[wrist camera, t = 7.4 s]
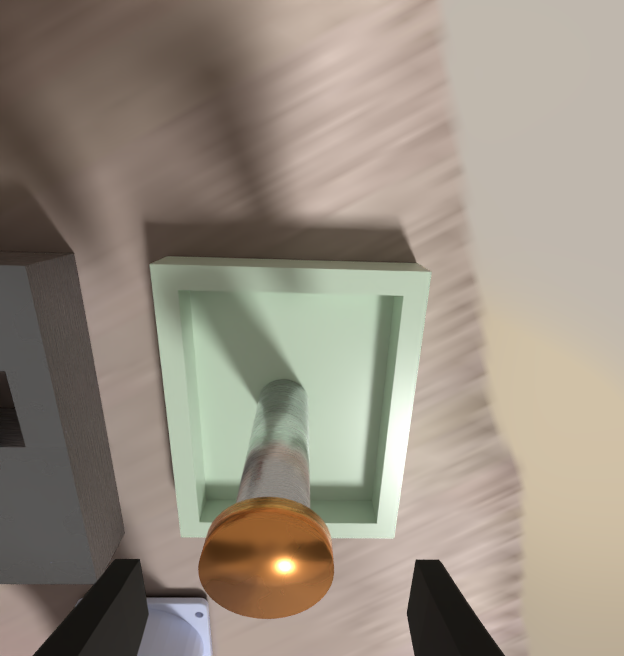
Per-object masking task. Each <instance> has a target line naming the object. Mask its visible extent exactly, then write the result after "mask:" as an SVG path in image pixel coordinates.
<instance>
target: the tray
mask: <svg viewBox="0 0 624 656" xmlns="http://www.w3.org/2000/svg"><path fill="white" fill-rule="evenodd" d="M150 273H151V282H152V290H153V299H154V308H155V316H156V325H157V334H158V342H159V351H160V360H161V368H162V377H163V386H164V394H165V403H166V412H167V420H168V429H169V438H170V446H171V455H172V464H173V472H174V481H175V490H176V498H177V507H178V516H179V524H180V533H181V537H206V536H207V533H208V530H209V527H210V526H211V524H212V522H213V521H214V520H215V518H216V517H217V516H218V515H219V514H220V513H221V512H222V511H224V510H225V509H227V508H228V507H230V506H232V505H234V504H236V500H237V495H238V491H239V486H240V482H241V477H242V473H243V468H244V464H245V459H246V455H247V450H248V446H249V441H250V437H251V432H252V428H253V423H254V418H255V414H256V409H257V405H258V400H259V396H260V393H261V391H262V389H263V388H264V387H265V386H266V385H267V384H268V383H270V382H272V381H274V380H278V379H288V380H292V381H295V382H297V383H298V384H300V385H301V386H302V387H303V388H304V390H305V391H306V393H307V396H308V420H309V470H310V509H311V510H313V511H314V512H315V513H316V514H318V515H319V516H320V517H321V519H322V520H323V521H324V522H325V524H326V525H327V527H328V529H329V532H330V535H331V538H394V536H395V529H396V522H397V515H398V508H399V501H400V494H401V486H402V479H403V472H404V465H405V458H406V451H407V444H408V437H409V430H410V422H411V415H412V408H413V401H414V394H415V387H416V380H417V373H418V366H419V358H420V351H421V344H422V337H423V330H424V323H425V316H426V309H427V302H428V294H429V287H430V280H431V273H432V272H431V271H429V270H428V269H426V268H424V267H423V266H421V265H419V264H418V263H394V262H358V261H323V260H287V259H252V258H216V257H181V256H167V257H164V258H162V259H160V260H158V261H155V262H153V263H151V264H150Z"/></svg>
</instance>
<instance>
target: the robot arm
mask: <svg viewBox="0 0 624 656" xmlns="http://www.w3.org/2000/svg"><path fill="white" fill-rule="evenodd" d="M407 617H408V623H409V628H410V634H411V639H412V644H413V650H414V655H415V656H505V655H504V654H503V652H502V651H501V649H500V648H499V647H498V645H497V644H496V643H495V641H494V640H493V638H492V637H491V636H490V634H489V633H488V631H487V630H486V629H485V627H484V626H483V624H482V623H481V621H480V620H479V619H478V617H477V616H476V614H475V613H474V611H473V610H472V608H471V607H470V605H469V604H468V602H467V601H466V599H465V598H464V596H463V595H462V593H461V592H460V590H459V589H458V587H457V586H456V584H455V583H454V581H453V580H452V578H451V576H450V575H449V573H448V572H447V570H446V569H445V567H444V565H443V564H442V563H441V562H440V561H439V560H416V562H415V568H414V573H413V579H412V585H411V591H410V597H409V603H408V609H407ZM33 656H213V652H212V640H211V629H210V618H209V607H208V602H207V600H206V599H204V598H146V593H145V587H144V581H143V575H142V569H141V563H140V559H116V560H115V561H113V562H112V563H111V565H110V566H109V567H108V568H107V569H106V571H105V572H104V573H103V574H102V575H101V577H100V578H99V579H98V580H97V581H96V583H95V584H94V585H93V586H92V587H91V589H90V590H89V591H88V592H87V593H86V595H85V596H84V597H83V598H81V599H79V600H78V602H77V604H76V605H75V608H74V609H73V610H72V611H71V612H70V614H69V615H68V616H67V617H66V618H65V619H64V621H63V622H62V623H61V624H60V625H59V626H58V627H57V629H56V630H55V631H54V632H53V633H52V634H51V635H50V637H49V638H48V639H47V640H46V641H45V642H44V643H43V644H42V646H41V647H40V648H39V649H38V650H37V651H36V652H35V654H34V655H33Z"/></svg>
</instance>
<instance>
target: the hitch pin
mask: <svg viewBox="0 0 624 656" xmlns="http://www.w3.org/2000/svg"><path fill="white" fill-rule="evenodd" d="M198 570H199V578H200V581H201V584H202V586H203V588H204V589H205V591H206V592H207V594H208V595H209V596H210V597H211V598H212V599H213V600H214V601H215V602H216V603H218V604H219V605H220V606H222V607H224V608H225V609H227V610H229V611H232V612H234V613H236V614H240V615H243V616H247V617H252V618H260V619H273V618H282V617H287V616H291V615H295V614H298V613H300V612H302V611H305V610H307V609H308V608H310V607H312V606H313V605H315V604H316V603H317V602H319V601H320V600H321V599H322V598H323V597H324V595H325V594H326V593H327V591H328V590H329V588H330V586H331V584H332V581H333V576H334V563H333V551H332V539H331V535H330V532H329V529H328V527H327V525H326V524H325V522H324V521H323V520H322V519H321V517H320V516H319V515H318V514H316V513H315V512H314V511H313V510H311V509H310V470H309V420H308V396H307V393H306V391H305V390H304V388H303V387H302V386H301V385H300V384H298V383H297V382H295V381H292V380H288V379H278V380H274V381H272V382H270V383H268V384H267V385H266V386H265V387H264V388H263V389H262V391H261V393H260V396H259V400H258V405H257V409H256V414H255V418H254V423H253V428H252V432H251V437H250V441H249V446H248V450H247V455H246V459H245V464H244V468H243V473H242V477H241V482H240V486H239V491H238V495H237V500H236V504H234V505H232V506H230V507H228V508H227V509H225V510H224V511H222V512H221V513H220V514H219V515H218V516H217V517H216V518H215V520H214V521H213V522H212V524H211V526H210V527H209V530H208V533H207V536H206V539H205V543H204V546H203V550H202V553H201V557H200V560H199V566H198Z"/></svg>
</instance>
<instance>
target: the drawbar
mask: <svg viewBox="0 0 624 656" xmlns="http://www.w3.org/2000/svg"><path fill="white" fill-rule="evenodd" d="M0 371H5V372H6V376H7V380H8V383H9V387H10V391H11V394H12V398H13V402H14V405H15V408H0V584H95V583H96V581H97V580H98V579H99V578H100V577H101V575H102V574H103V573H104V571H105V569H106V568H107V566H108V564H109V562H110V560H111V558H112V556H113V554H114V552H115V551H116V549H117V547H118V545H119V543H120V541H121V539H122V537H123V535H124V534H125V532H124V526H123V521H122V515H121V510H120V504H119V499H118V493H117V488H116V482H115V476H114V471H113V465H112V460H111V454H110V449H109V443H108V438H107V432H106V427H105V421H104V416H103V410H102V405H101V399H100V394H99V388H98V383H97V377H96V372H95V366H94V361H93V355H92V350H91V344H90V339H89V333H88V328H87V322H86V317H85V311H84V306H83V300H82V295H81V289H80V284H79V278H78V273H77V267H76V262H75V256H74V253H39V252H3V251H0Z"/></svg>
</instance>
